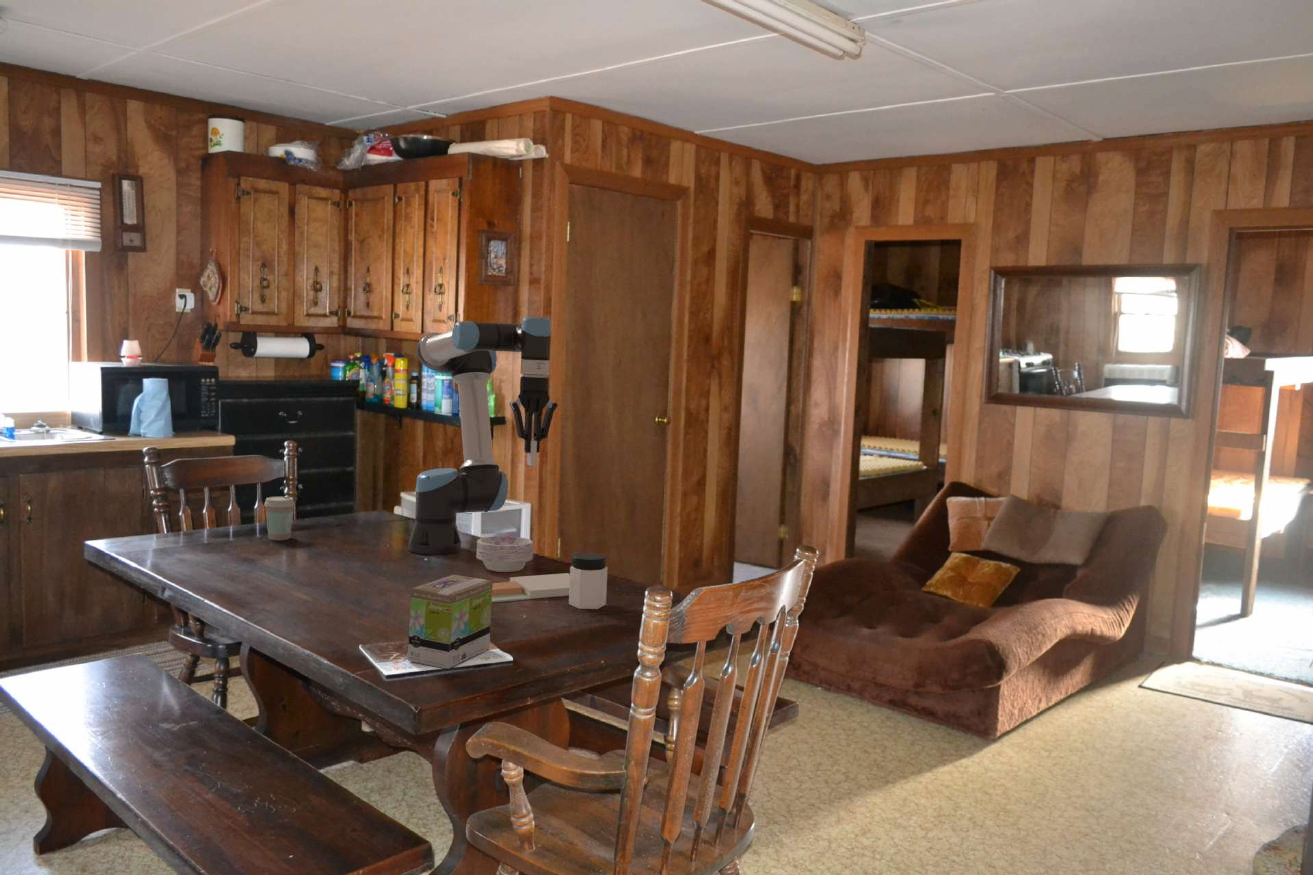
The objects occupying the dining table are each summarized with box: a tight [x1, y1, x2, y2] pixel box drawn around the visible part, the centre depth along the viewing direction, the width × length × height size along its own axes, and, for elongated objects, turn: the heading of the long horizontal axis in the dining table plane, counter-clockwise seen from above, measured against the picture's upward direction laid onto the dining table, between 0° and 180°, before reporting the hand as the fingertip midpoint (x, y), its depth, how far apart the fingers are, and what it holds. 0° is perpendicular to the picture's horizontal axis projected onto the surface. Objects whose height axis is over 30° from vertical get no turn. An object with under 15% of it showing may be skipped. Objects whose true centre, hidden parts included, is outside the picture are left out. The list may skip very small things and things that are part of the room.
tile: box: [492, 581, 523, 596], centre depth 255 cm, size 6×9×2 cm, turn 119°
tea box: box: [407, 574, 493, 670], centre depth 205 cm, size 15×10×15 cm, turn 158°
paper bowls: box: [476, 535, 534, 573], centre depth 281 cm, size 15×15×8 cm
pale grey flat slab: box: [509, 572, 570, 600], centre depth 261 cm, size 14×16×2 cm
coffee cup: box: [263, 496, 296, 541], centre depth 304 cm, size 8×9×12 cm
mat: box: [492, 593, 531, 604], centre depth 254 cm, size 15×15×1 cm
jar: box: [568, 552, 608, 610], centre depth 248 cm, size 9×8×12 cm
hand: (531, 464), depth 274 cm, fingers closed
